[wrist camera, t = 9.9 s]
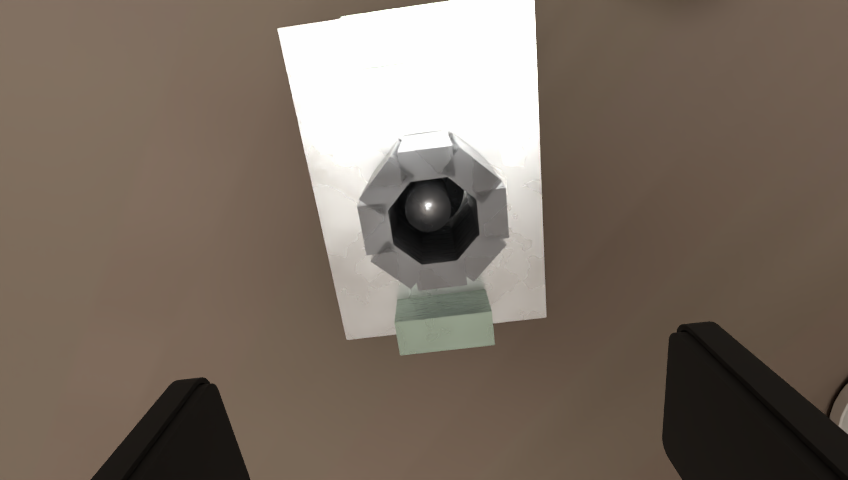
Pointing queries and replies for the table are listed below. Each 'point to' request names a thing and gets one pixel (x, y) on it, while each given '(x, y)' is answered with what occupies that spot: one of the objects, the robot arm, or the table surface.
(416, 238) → the hub
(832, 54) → the table surface
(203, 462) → the robot arm
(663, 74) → the table surface
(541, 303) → the seat
